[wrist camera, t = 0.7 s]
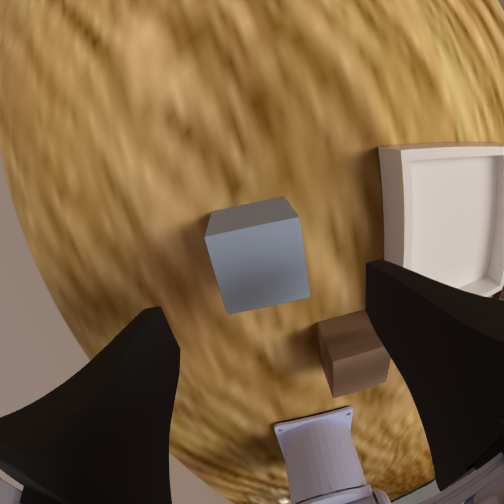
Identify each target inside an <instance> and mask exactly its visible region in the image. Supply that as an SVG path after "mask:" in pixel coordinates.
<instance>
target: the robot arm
mask: <svg viewBox="0 0 504 504" xmlns="http://www.w3.org/2000/svg"><path fill="white" fill-rule="evenodd" d="M365 311H366V313H367V315H368V317H369V320H370V322H371V324H372V326H373V328H374V330H375V332H376V334H377V336H378V337H379V339H380V341H381V342H382V344H383V345H384V347H385V349H386V350H387V352H388V354H389V355H390V357H391V358H392V360H393V362H394V363H395V365H396V366H397V368H398V370H399V371H400V373H401V375H402V376H403V378H404V380H405V382H406V384H407V386H408V388H409V390H410V393H411V395H412V397H413V400H414V402H415V405H416V407H417V410H418V413H419V415H420V418H421V421H422V424H423V427H424V430H425V433H426V437H427V440H428V444H429V447H430V451H431V456H432V460H433V465H434V470H435V477H436V483H437V485H438V488H439V490H440V491H443V490H444V491H443V492H441V493H439V494H437V495H435V496H433V497H431V498H430V499H428V500H426V501H424V502H422V503H419V504H460V503H462V502H464V501H465V500H466V501H465V502H464V504H504V300H498V299H493V298H489V297H484V296H481V295H477V294H474V293H470V292H466V291H463V290H460V289H457V288H454V287H452V286H449V285H446V284H443V283H441V282H438V281H436V280H433V279H431V278H428V277H426V276H423V275H421V274H418V273H416V272H414V271H411V270H409V269H406V268H404V267H402V266H399V265H397V264H394V263H391V262H389V261H386V260H382V259H381V260H377V261H373V262H369V263H366V310H365ZM179 369H180V347H179V345H178V343H177V341H176V339H175V337H174V335H173V333H172V331H171V328H170V326H169V324H168V322H167V320H166V318H165V315H164V313H163V311H162V309H161V306H159V307H153V308H147V309H144V310H143V311H142V312H141V313H140V314H138V315H137V316H136V317H135V318H134V319H133V320H132V321H131V322H130V323H129V324H128V325H127V326H126V327H125V328H124V329H123V330H122V331H121V332H120V333H119V334H118V335H117V336H116V337H115V338H114V339H113V340H112V341H111V342H110V343H109V344H108V345H107V346H106V347H105V348H104V349H103V350H102V351H101V352H99V353H98V354H97V355H96V356H95V357H94V358H93V359H92V360H91V361H90V362H89V363H88V364H87V365H86V366H84V367H83V368H82V369H81V370H80V371H79V372H77V373H76V374H75V375H73V376H72V377H71V378H70V379H68V380H67V381H66V382H65V383H63V384H61V385H60V386H59V387H57V388H56V389H54V390H53V391H51V392H50V393H48V394H47V395H45V396H44V397H42V398H40V399H39V400H37V401H35V402H33V403H32V404H30V405H28V406H26V407H24V408H22V409H20V410H18V411H16V412H13V413H11V414H9V415H6V416H3V417H1V418H0V469H1V470H2V471H4V472H5V473H6V474H8V475H9V476H10V477H12V478H13V479H14V480H16V481H17V482H19V483H20V484H22V485H23V486H24V488H23V491H21V490H19V489H17V488H16V487H14V486H13V485H11V484H9V483H8V482H6V481H4V480H3V479H1V478H0V504H172V500H171V491H170V480H169V479H170V478H169V433H170V424H171V418H172V412H173V406H174V400H175V395H176V389H177V383H178V378H179ZM352 414H353V409H352V407H350V406H349V407H345V408H342V409H338V410H335V411H331V412H327V413H323V414H319V415H315V416H311V417H307V418H302V419H298V420H293V421H288V422H283V423H277V424H275V425H274V430H275V433H276V436H277V439H278V442H279V445H280V448H281V451H282V454H283V457H284V458H285V463H286V469H287V476H288V482H289V489H290V496H291V502H292V504H391V502H390V500H389V498H388V496H387V494H386V493H385V492H384V491H381V490H379V489H375V490H373V491H372V490H371V486H370V485H367V484H366V481H365V478H364V474H363V471H362V468H361V465H360V462H359V459H358V455H357V452H356V449H355V446H354V443H353V440H352V437H351V434H350V428H351V421H352ZM475 470H476V471H475ZM474 471H475V472H474ZM472 472H473V473H472ZM471 473H472V474H471ZM469 474H470V475H469ZM468 475H469V476H468ZM466 476H467V477H466ZM465 477H466V478H465ZM463 478H464V479H463ZM461 479H463V480H461ZM460 480H461V481H460ZM458 481H460V482H458ZM456 482H458V483H456ZM455 483H456V484H455ZM453 484H455V485H453ZM452 485H453V486H452ZM450 486H451V487H450ZM448 487H450V488H448ZM447 488H448V489H447ZM445 489H446V490H445Z"/></svg>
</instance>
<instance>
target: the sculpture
mask: <svg viewBox="0 0 504 504" xmlns="http://www.w3.org/2000/svg"><path fill="white" fill-rule="evenodd" d="M493 299H498V300H504V286H503V288H502V290H500V291H498V292H497V293H495V294H494V297H493Z"/></svg>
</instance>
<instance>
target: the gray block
mask: <svg viewBox="0 0 504 504" xmlns="http://www.w3.org/2000/svg"><path fill="white" fill-rule="evenodd" d="M204 238H205V242H206V245H207V249H208V252H209V256H210V259H211V262H212V266H213V269H214V272H215V276H216V279H217V282H218V286H219V289H220V292H221V295H222V299H223V302H224V305H225V308H226V311H227V314H232V313H237V312H243V311H248V310H253V309H258V308H263V307H267V306H272V305H277V304H282V303H286V302H291V301H295V300H300V299H304V298H308V297H310V292H309V284H308V276H307V268H306V260H305V253H304V245H303V238H302V231H301V225H300V218H299V216H298V215H297V213H296V212H295V211H294V209H293V208H292V207H291V205H290V204H289V203H288V202H287V200H286V199H285V198H284V197H279V198H274V199H269V200H264V201H259V202H254V203H250V204H245V205H240V206H236V207H231V208H227V209H222V210H218V211H214V212H211V215H210V219H209V222H208V226H207V229H206V233H205V236H204Z"/></svg>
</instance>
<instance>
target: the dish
mask: <svg viewBox="0 0 504 504" xmlns="http://www.w3.org/2000/svg"><path fill="white" fill-rule="evenodd" d="M378 152H379V160H380V170H381V181H382V195H383V214H384V260H386V261H389V262H391V263H394V264H397V265H399V266H402V267H404V268H406V269H409V270H411V271H414V272H416V273H418V274H421V275H423V276H426V277H428V278H431V279H433V280H436V281H438V282H441V283H443V284H446V285H449V286H452V287H454V288H457V289H460V290H463V291H466V292H470V293H474V294H477V295H481V296H484V297H489V296H491V295H493V294H495V293H497V292H498V291H500V290H502V288H503V284H504V144H502V143H497V142H439V143H418V144H402V145H390V146H379V147H378Z"/></svg>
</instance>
